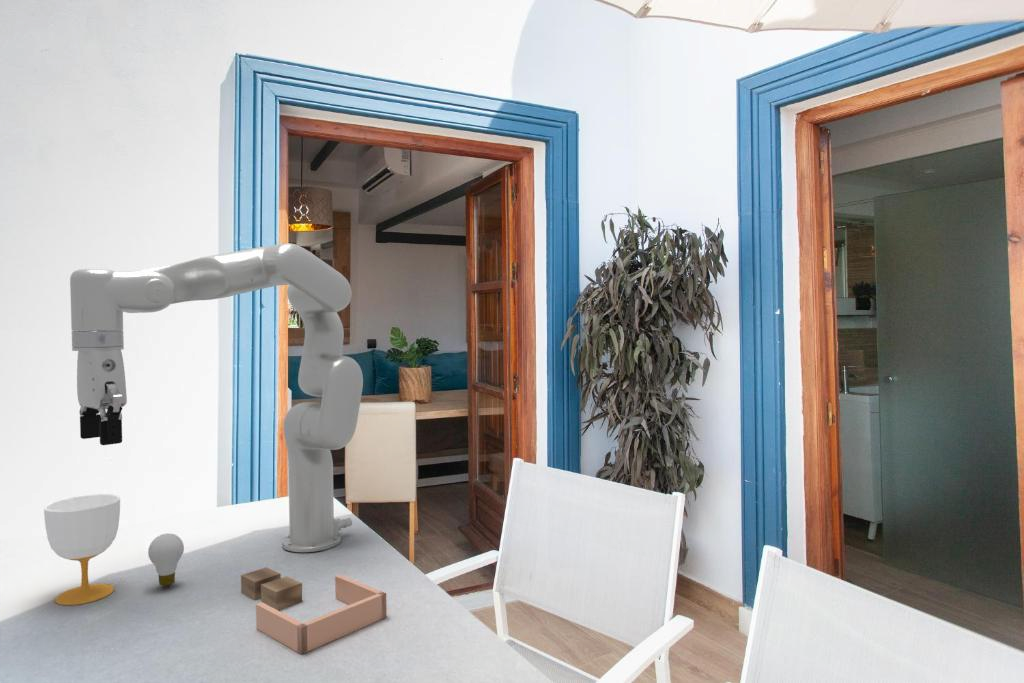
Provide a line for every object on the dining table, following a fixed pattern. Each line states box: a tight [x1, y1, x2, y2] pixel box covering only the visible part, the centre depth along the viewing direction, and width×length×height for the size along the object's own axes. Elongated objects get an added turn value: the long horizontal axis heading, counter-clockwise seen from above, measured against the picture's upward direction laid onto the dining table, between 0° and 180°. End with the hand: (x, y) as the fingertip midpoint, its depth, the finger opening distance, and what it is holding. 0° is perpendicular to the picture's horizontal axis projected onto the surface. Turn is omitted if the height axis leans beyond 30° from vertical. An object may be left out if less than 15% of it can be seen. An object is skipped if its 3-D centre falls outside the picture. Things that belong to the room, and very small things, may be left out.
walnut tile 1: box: [240, 566, 282, 601], centre depth 120 cm, size 5×5×4 cm
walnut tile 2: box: [260, 575, 303, 611], centre depth 115 cm, size 5×5×4 cm
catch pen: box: [255, 574, 388, 655], centre depth 107 cm, size 16×13×4 cm
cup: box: [43, 493, 121, 606], centre depth 119 cm, size 12×12×17 cm
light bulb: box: [147, 533, 185, 589], centre depth 122 cm, size 6×6×10 cm
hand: (101, 440), depth 113 cm, fingers open, 9 cm apart
